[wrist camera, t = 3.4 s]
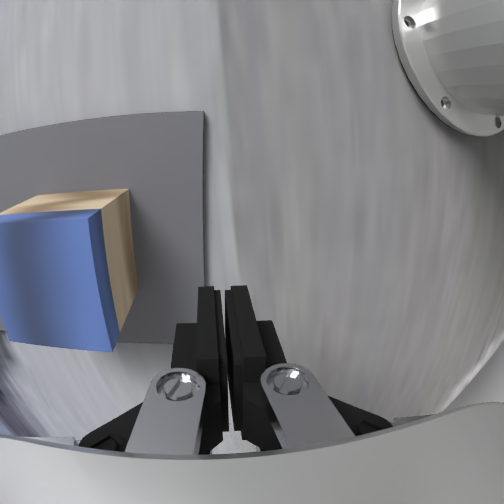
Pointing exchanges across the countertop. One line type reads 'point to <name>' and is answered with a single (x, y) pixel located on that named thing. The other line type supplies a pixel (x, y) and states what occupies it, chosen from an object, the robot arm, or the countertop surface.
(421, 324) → the countertop surface
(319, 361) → the countertop surface
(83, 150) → the mat
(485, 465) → the robot arm
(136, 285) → the cube
